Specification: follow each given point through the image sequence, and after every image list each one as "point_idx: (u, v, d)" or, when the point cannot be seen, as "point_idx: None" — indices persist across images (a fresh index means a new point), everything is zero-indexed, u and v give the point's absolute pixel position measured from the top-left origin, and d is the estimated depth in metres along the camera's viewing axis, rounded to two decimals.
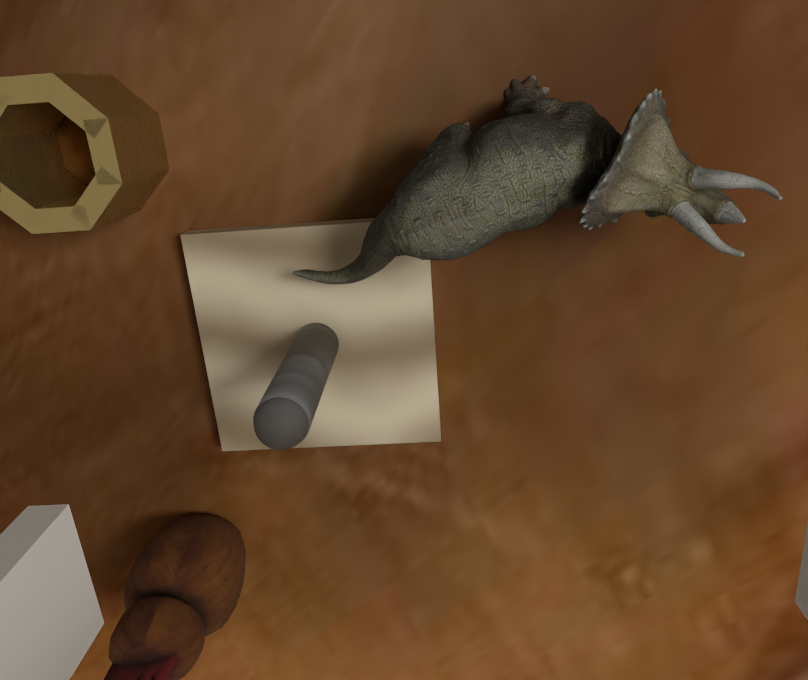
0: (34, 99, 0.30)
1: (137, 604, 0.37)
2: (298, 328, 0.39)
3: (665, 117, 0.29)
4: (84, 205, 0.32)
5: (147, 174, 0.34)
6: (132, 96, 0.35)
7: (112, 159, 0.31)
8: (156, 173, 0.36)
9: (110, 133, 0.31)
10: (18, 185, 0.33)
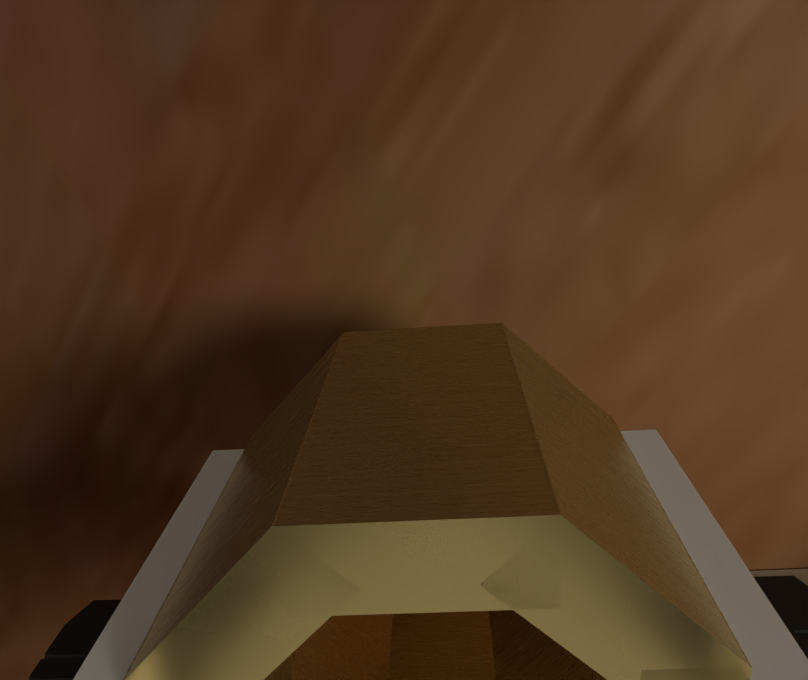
0: (452, 599, 0.07)
1: None
2: None
3: None
4: None
5: None
6: (568, 387, 0.12)
7: None
8: None
9: None
10: None
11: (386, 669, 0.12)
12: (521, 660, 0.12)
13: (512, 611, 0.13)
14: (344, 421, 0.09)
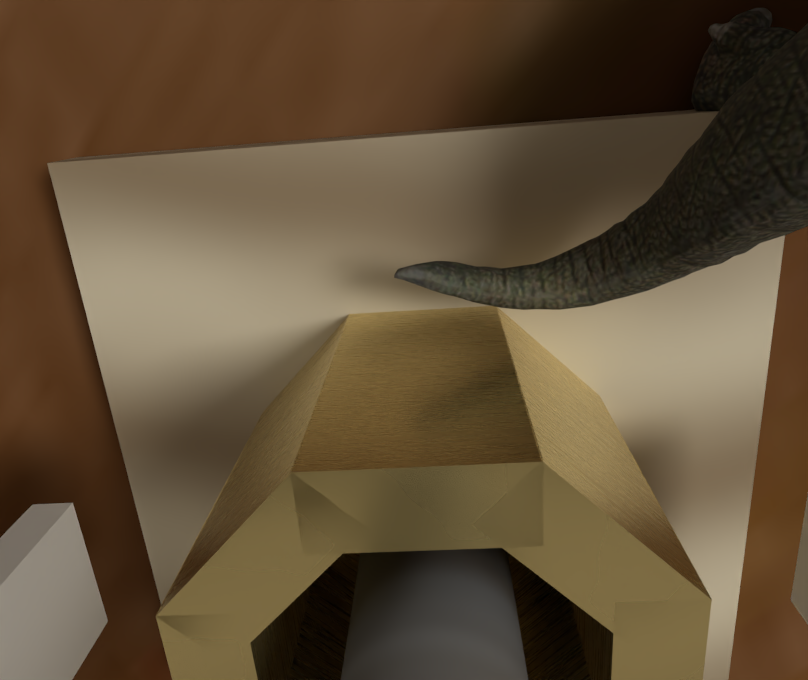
0: (448, 538, 0.08)
1: None
2: None
3: None
4: None
5: None
6: (557, 365, 0.13)
7: None
8: None
9: (703, 643, 0.09)
10: None
11: None
12: None
13: None
14: (352, 388, 0.10)
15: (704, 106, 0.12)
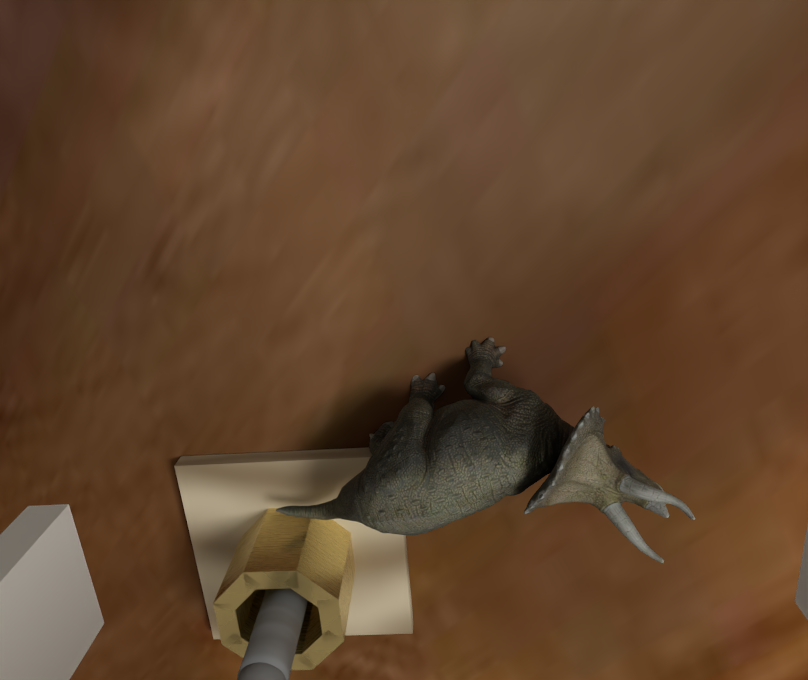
0: (278, 586, 0.37)
1: None
2: None
3: (599, 420, 0.33)
4: (309, 653, 0.38)
5: None
6: (332, 526, 0.42)
7: (338, 625, 0.38)
8: (351, 589, 0.42)
9: (338, 609, 0.37)
10: (250, 629, 0.39)
11: None
12: None
13: None
14: (262, 545, 0.39)
15: (371, 453, 0.41)
